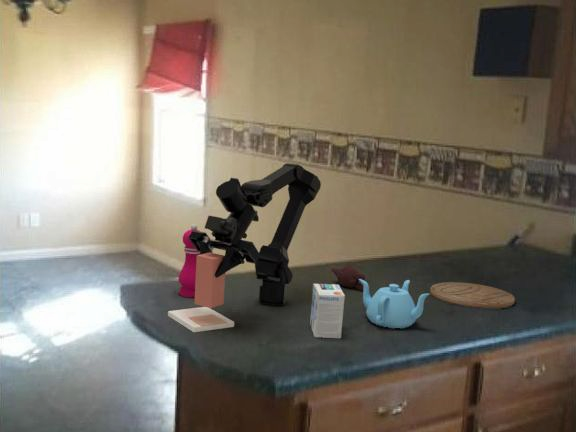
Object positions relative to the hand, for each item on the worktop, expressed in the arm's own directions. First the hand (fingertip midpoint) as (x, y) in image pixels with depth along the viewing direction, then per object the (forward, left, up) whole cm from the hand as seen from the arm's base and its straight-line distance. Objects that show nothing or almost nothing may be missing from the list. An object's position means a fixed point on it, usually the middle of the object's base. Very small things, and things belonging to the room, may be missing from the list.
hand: (207, 274), depth 174 cm
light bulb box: (-30, -3, -13) cm, 33 cm away
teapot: (-48, -15, -13) cm, 52 cm away
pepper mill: (+7, -27, -13) cm, 31 cm away
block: (-1, -1, -8) cm, 8 cm away
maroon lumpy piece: (-38, -49, -13) cm, 63 cm away
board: (+1, -4, -13) cm, 14 cm away
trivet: (-76, -46, -14) cm, 90 cm away
